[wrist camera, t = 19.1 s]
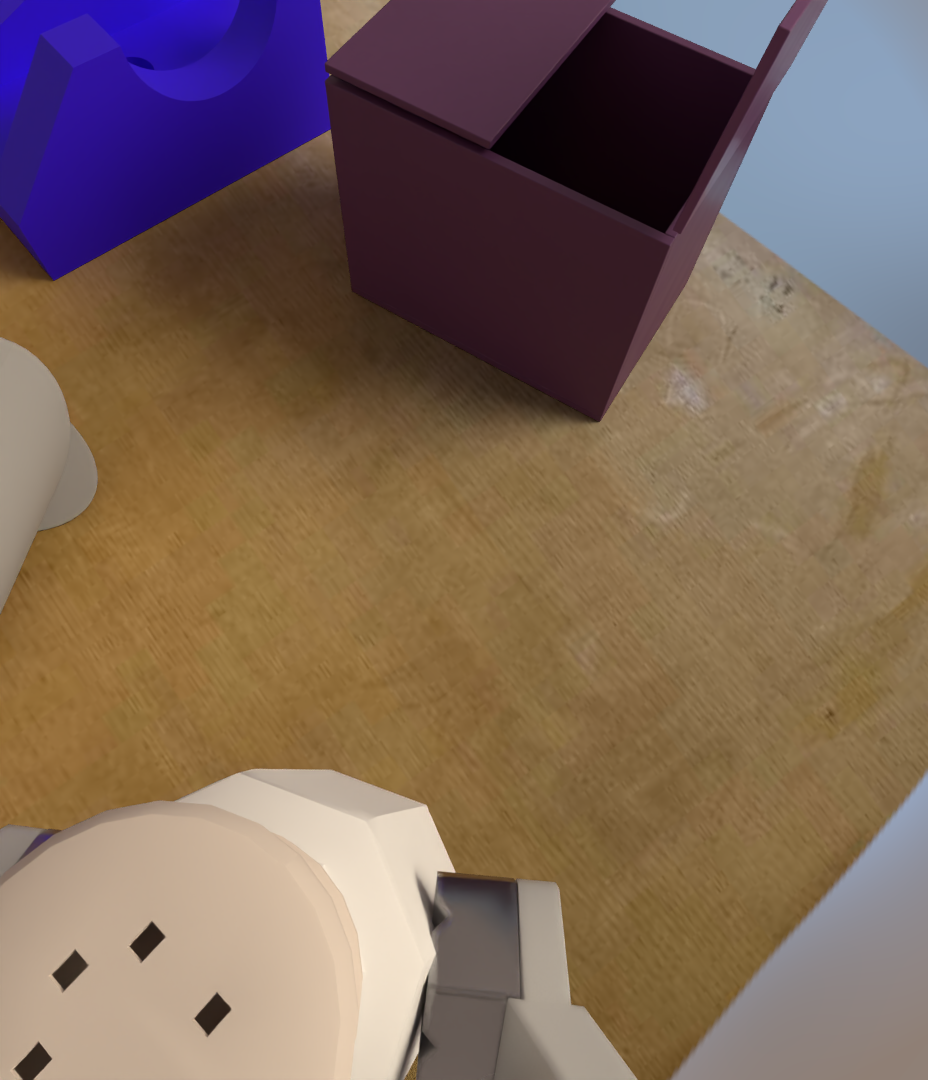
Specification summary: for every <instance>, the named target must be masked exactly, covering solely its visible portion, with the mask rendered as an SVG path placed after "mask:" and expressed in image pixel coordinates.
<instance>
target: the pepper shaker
mask: <svg viewBox="0 0 928 1080" xmlns="http://www.w3.org/2000/svg"><path fill="white" fill-rule="evenodd" d="M437 871H442V872H452V873H456V872H455V870H454V868H453V865H452V863H451V861H450V858H449V856H448V854H447V852H446V849H445V847H444V845H443V842H442V840H441V838H440V836H439V833H438V831H437V829H436V826H435V824H434V822H433V820H432V817H431V815H430V813H429V810H428V808H427V806H426V805H424V804H422V803H419V802H416V801H414V800H411V799H408V798H406V797H403V796H400V795H398V794H395V793H392V792H390V791H387V790H384V789H382V788H379V787H376V786H374V785H371V784H368V783H366V782H363V781H360V780H358V779H355V778H352V777H350V776H347V775H344V774H342V773H339V772H336V771H334V770H301V769H252V770H248V771H244V772H240V773H237V774H234V775H232V776H229V777H227V778H224V779H222V780H219V781H217V782H215V783H212V784H210V785H208V786H206V787H204V788H202V789H200V790H197V791H195V792H193V793H191V794H189V795H187V796H184V797H182V798H180V799H178V800H176V801H174V802H171V801H155V802H149V803H144V804H139V805H133V806H128V807H123V808H117V809H112V810H107V811H104V812H102V813H100V814H98V815H95V816H93V817H91V818H89V819H87V820H85V821H82V822H80V823H78V824H76V825H74V826H72V827H69V828H67V829H65V830H63V831H61V832H58V833H56V834H54V835H53V836H51V837H50V838H49V839H47V840H46V841H45V842H44V843H42V844H41V845H40V846H38V847H37V848H36V849H34V850H33V851H32V852H31V853H29V854H28V855H27V856H25V857H24V858H23V859H21V860H20V861H19V862H17V863H16V864H15V865H14V866H12V867H11V868H10V869H8V870H7V871H6V872H5V873H4V874H3V875H2V876H1V877H0V1080H404V1078H405V1077H406V1075H407V1073H408V1071H409V1069H410V1067H411V1065H412V1064H413V1062H414V1060H415V1058H416V1056H417V1054H418V1053H419V1041H420V1032H421V1022H422V1013H423V1004H424V1001H425V991H426V985H427V979H428V973H429V970H430V967H431V965H432V962H433V960H434V957H435V955H436V951H435V948H434V945H433V942H432V931H433V930H434V929H435V928H434V925H433V923H432V915H433V904H434V894H435V886H436V878H437Z"/></svg>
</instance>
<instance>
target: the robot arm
mask: <svg viewBox="0 0 928 1080" xmlns="http://www.w3.org/2000/svg"><path fill="white" fill-rule="evenodd" d="M61 831H62V830H54V829H41V828H33V827H26V826H18V825H11V824H8V825H7V826H5V827H3V828H1V829H0V877H1V876H2V875H3V874H4V873H5V872H6V871H7V870H8V869H10V868H11V867H12V866H14V865H15V864H16V863H17V862H19V861H20V860H21V859H23V858H24V857H25V856H27V855H28V854H29V853H31V852H32V851H33V850H34V849H36V848H37V847H38V846H40V845H41V844H42V843H44V842H45V841H46V840H47V839H49V838H50V837H51V836H53V835H54V834H56V833H58V832H61ZM432 923H433V925H434V928H435V929H434V930H433V931H432V942H433V945H434V948H435V951H436V955H435V957H434V960H433V962H432V965H431V967H430V970H429V973H428V979H427V985H426V991H425V1001H424V1004H423V1013H422V1022H421V1032H420V1041H419V1053H418V1065H417V1077H416V1080H637V1078H636V1077H635V1076H634V1074H633V1073H632V1071H631V1070H630V1069H629V1067H628V1066H627V1065H626V1063H625V1062H624V1061H623V1059H622V1058H621V1056H620V1055H619V1054H618V1052H617V1051H616V1050H615V1048H614V1047H613V1046H612V1044H611V1043H610V1041H609V1040H608V1039H607V1037H606V1036H605V1035H604V1033H603V1032H602V1031H601V1029H600V1028H599V1026H598V1025H597V1024H596V1022H595V1021H594V1020H593V1018H592V1017H591V1016H590V1014H589V1013H588V1011H587V1010H586V1009H585V1007H584V1006H577V1005H571V999H570V989H569V979H568V969H567V960H566V950H565V940H564V930H563V921H562V911H561V901H560V891H559V888H558V886H557V884H556V882H546V881H536V880H525V879H516V880H515V879H514V878H505V877H495V876H484V875H474V874H463V873H452V872H442V871H437V878H436V886H435V894H434V904H433V915H432Z"/></svg>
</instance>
